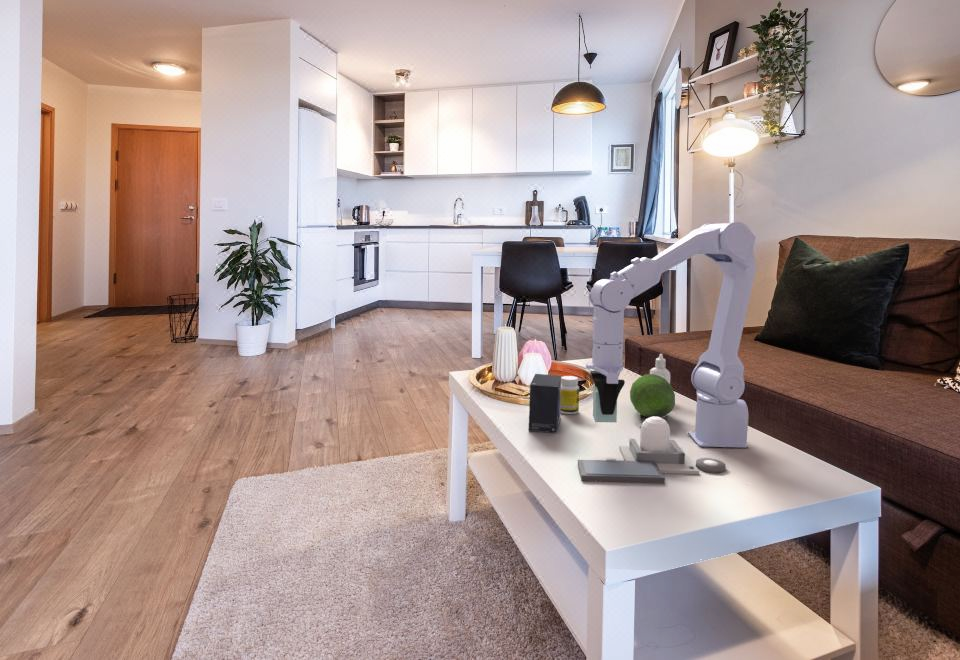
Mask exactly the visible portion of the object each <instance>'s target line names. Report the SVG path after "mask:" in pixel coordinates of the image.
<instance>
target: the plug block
mask: <svg viewBox="0 0 960 660" xmlns="http://www.w3.org/2000/svg"><path fill="white" fill-rule="evenodd" d="M592 393H593V394H592V395H593V396H592V398H593V401H592V404H593V405H592V418H593V419H594V421H595V423H617V415H618V413H617V412H618V401H617V402H616V406H615V410H614V413H613V415H603V414H602V412H601V408H600V399H599V393H598V389H597V387H595V386H593V391H592Z"/></svg>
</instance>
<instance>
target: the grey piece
mask: <svg viewBox="0 0 960 660" xmlns="http://www.w3.org/2000/svg"><path fill="white" fill-rule="evenodd" d="M618 448H619V452H620V454H621V456H622V458H623V461H646V462H656V464H657V465H658V467H659V469H660V470H661V472H662V474H674V475H675V474H678V475H683V474H684V475H700V469H698V468H697V467H696V464H694V462H693V460H692V459H691V458H690V457H689V455H688V454H687V452H685V450H684V449H683V448H682V447H681V446H679V444H678V443H677V442H676V440H675V439H670V445H669V452H660V451H641V449H640V444H638V442H637V440H636V439H635V438H629V445H619V446H618Z"/></svg>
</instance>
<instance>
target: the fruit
mask: <svg viewBox="0 0 960 660" xmlns="http://www.w3.org/2000/svg"><path fill="white" fill-rule="evenodd" d="M674 391H675V390H674V389H673V387H672V385H671V383H670V384H669V383H668V381H667V380H666V379H664V378H663V377H661V376H658V375H655V374H650V373H646V374H643V375H641V376H639V377H638V378H637V379H636V380H635V381H634V382H633V383H632V385H631V387H630V391H629V399H630V402H631V404H632V405H633V408H634V410H635V411H637V412H638V413H639V414H640V415H641V416H643V417H645V418H647V419H648V418H650V417H653V416H656V417H660V418H664V417H666V416H668V415H669V414H670V413H671V412H672V411H674V408H675V406H676V394H675V392H674Z"/></svg>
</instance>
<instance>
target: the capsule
mask: <svg viewBox="0 0 960 660" xmlns="http://www.w3.org/2000/svg"><path fill="white" fill-rule="evenodd" d="M639 436H640V437H639V438H640V439H639V447H640V449H641V451H660V452H669V445H670V440H671V429H670V425H669V424H668V422H667V421H666V419H664V418H663V417H661V418H660V417H656V416H653V417H650V418H648V417H647V418H645V420H644V421H643V423H641V426H640V435H639Z"/></svg>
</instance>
